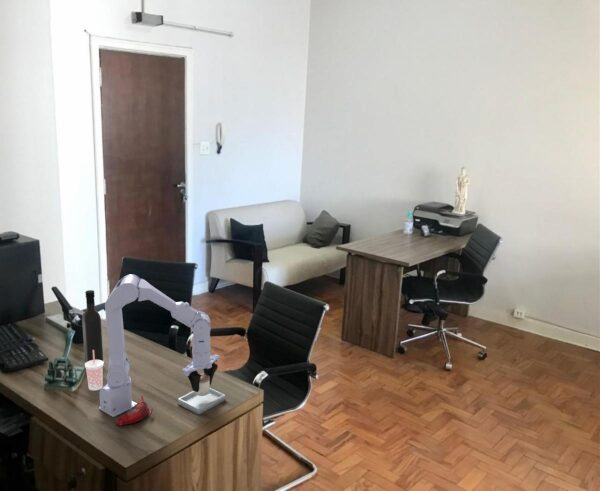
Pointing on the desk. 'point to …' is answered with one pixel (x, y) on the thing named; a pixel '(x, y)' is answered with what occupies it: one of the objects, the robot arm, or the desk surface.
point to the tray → (201, 401)
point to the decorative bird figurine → (135, 413)
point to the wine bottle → (92, 330)
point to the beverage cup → (94, 373)
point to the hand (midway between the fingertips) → (201, 387)
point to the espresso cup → (203, 385)
